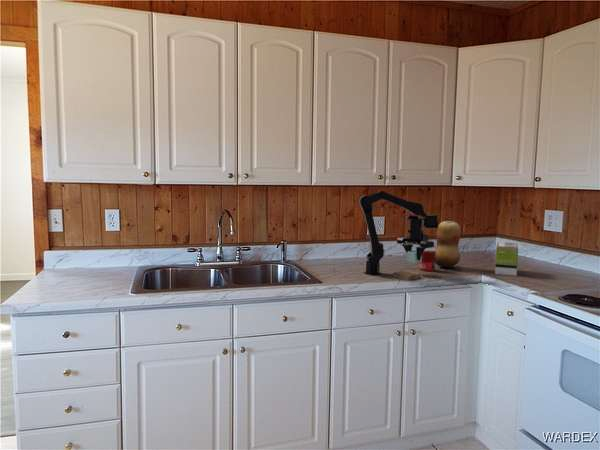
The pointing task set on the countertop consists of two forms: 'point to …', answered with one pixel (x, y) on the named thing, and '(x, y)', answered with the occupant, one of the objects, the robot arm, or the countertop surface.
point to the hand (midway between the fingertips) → (414, 259)
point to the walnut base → (406, 275)
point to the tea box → (506, 258)
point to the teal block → (413, 257)
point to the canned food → (428, 260)
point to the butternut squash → (447, 244)
